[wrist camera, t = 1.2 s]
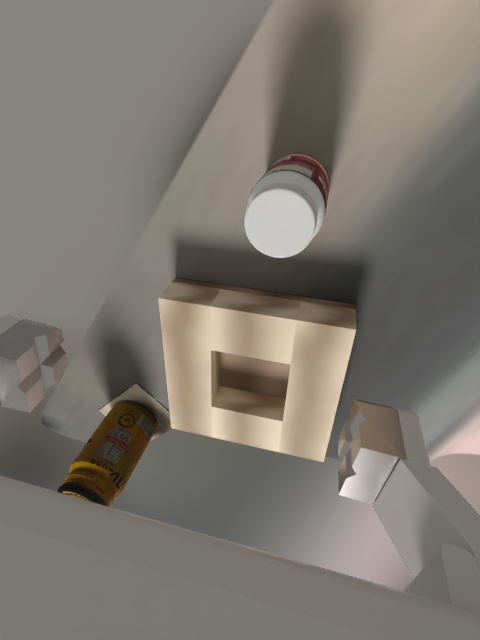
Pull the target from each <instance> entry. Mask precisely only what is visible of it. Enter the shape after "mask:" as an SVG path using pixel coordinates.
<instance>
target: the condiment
mask: <svg viewBox="0 0 480 640" xmlns="http://www.w3.org/2000/svg"><path fill="white" fill-rule="evenodd" d="M137 401H139V402H137ZM140 401H142V402H140ZM99 411H100V412H101V413H102V414H104V415H105V416H106V417H105V418H104V420H103V421H102V422H101V424H100V425H99V427H98V428H97V429H96V431H95V432H94V433H93V434H92V437H91V438H90V439H89V440H88V442H87V444H86V445H85V446H84V448H83V449H82V451H81V452H80V453H79V455H78V456H77V457H76V459H75V460H74V461H73V463H72V465H71V467H70V470H69V472H70V474H69V475H68V476H67V477H66V478H65V480H64V483H63V484H62V486H60V487H59V489H58V491H57V492H58V493H62V494H65V495H69V496H72V497H76V498H79V499H83V500H86V501H90V502H93V503H97V504H100V505H104V506H107V507H109V506H110V505H111V503H112V502H113V500H114V498H115V497H117V496H119V495H120V494H121V492H122V491H123V489H124V487H125V485H126V483H127V481H128V480H129V478H130V476H131V474H132V472H133V470H134V468H135V467H136V465H137V463H138V461H139V459H140V458H141V456H142V454H143V452H144V451H145V449H146V447H147V445H148V444H149V442H150V441H151V440H153V439H154V438H156V437H158V436H160V435H162V434H164V433H166V432H167V431H169V430H171V429H173V428H171V420H170V413H169V412H168V411H167V410H166V409H165V408H164V407H163V406H162V405H161V404H160V403H158V402H157V400H156V399H154V398H152V397H151V396H150V395H149V394H148V393H147V392H146V391H145V390H143V389H142V388H141V387H139V386H138V385H137V384H134V385H133V386H132V387H130V388H129V389H128V390H126V391H125V392H124V393H122V394H121V395H119V396H118V397H117V398H115V399H114V400H112V401H111V402H110V403H108V404H107V405H106V406H104V407H103V408H102V409H100V410H99Z"/></svg>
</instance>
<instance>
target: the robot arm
mask: <svg viewBox="0 0 480 640" xmlns="http://www.w3.org/2000/svg"><path fill="white" fill-rule="evenodd" d="M63 341H64V339H63V334H62V330H60V329H59V328H57V327H53V326H49V325H46V324H42V323H38V322H34V321H30V320H27V319H21V318H17V317H14V316H10V315H9V316H3V317H2V318H0V406H4V407H8V408H12V409H17V410H21V411H25V412H31V410H32V409H33V408H34V407H35V406H36V405H37V404H38V403H39V402H40V401H41V399H42V398H43V397H44V396H45V388H48V387H50V386H52V385H55V384H56V383H57V382H58V381H59V379H60V378H61V377H62V375H63V373H64V371H65V368H66V362H67V357H66V352H65V351H64V350H63V349H62V347H61V346H60V344H61V343H62V342H63ZM338 457H339V458H340V460H341V461H342V464H341V467H340V469H339V471H338V477H339V478H338V479H339V495H341V496H344V497H348V498H351V499H355V500H358V501H361V502H365V503H368V504H372V505H373V508H374V510H375V511H376V513H377V515H378V517H379V519H380V520H381V522H382V524H383V526H384V527H385V529H386V531H387V533H388V535H389V537H390V538H391V540H392V542H393V544H394V545H395V547H396V549H397V551H398V552H399V554H400V556H401V558H402V559H403V561H404V563H405V565H406V567H407V569H408V570H409V572H410V574H411V576H412V577H413V579H414V580H413V581H412V582H411V583H410V584H409V585H408V587H407V588H406V589H405V590H404V591H401V590H397V589H394V588H390V587H387V586H383V585H380V584H376V583H373V582H369V581H366V580H362V579H359V578H355V577H352V576H348V575H345V574H341V573H338V572H335V571H331V570H328V569H324V568H320V567H317V566H313V565H310V564H307V563H303V562H299V561H296V560H292V559H289V558H286V557H282V556H278V555H275V554H272V553H268V552H265V551H261V550H258V549H254V548H251V547H247V546H244V545H240V544H237V543H233V542H230V541H226V540H222V539H219V538H215V537H212V536H209V535H205V534H202V533H198V532H195V531H191V530H187V529H184V528H180V527H177V526H174V525H170V524H167V523H163V522H159V521H156V520H152V519H149V518H146V517H142V516H139V515H135V514H132V513H128V512H125V511H121V510H118V509H114V508H111V507H107V506H104V505H100V504H97V503H93V502H90V501H86V500H83V499H79V498H76V497H72V496H69V495H65V494H62V493H58V492H55V491H51V490H48V489H44V488H41V487H37V486H34V485H31V484H27V483H23V482H20V481H16V480H13V479H10V478H6V477H3V476H0V640H480V515H479V514H478V513H477V512H476V510H475V509H474V508H473V507H472V506H471V505H470V504H469V503H468V502H467V501H466V499H465V498H464V497H463V496H462V495H461V494H460V493H459V492H458V491H457V490H456V488H455V487H454V486H453V485H452V484H451V483H450V482H449V480H448V479H447V478H446V477H445V476H444V475H443V474H442V473H441V472H440V470H439V469H438V468H436V467H432V466H431V465H430V461H429V457H428V453H427V449H426V445H425V441H424V437H423V433H422V430H421V426H420V422H419V418H418V415H417V414H416V413H415V412H412V411H407V410H403V409H398V408H392V407H388V406H384V405H379V404H375V403H371V402H366V401H362V400H358V399H355V400H354V401H353V403H352V405H351V407H350V419H348V420H346V421H345V422H344V424H343V427H342V430H341V434H340V438H339V446H338Z"/></svg>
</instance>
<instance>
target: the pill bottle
mask: <svg viewBox="0 0 480 640" xmlns="http://www.w3.org/2000/svg"><path fill="white" fill-rule="evenodd" d="M328 193H329V181H328V176H327V173H326V171H325V170H324V168H323V167H322V165H321V164H320V163H319V162H318V161H316V160H315V159H313V158H311V157H309V156H307V155H303V154H291V155H288V156H285V157H283V158H281V159H279V160H278V161H276V162H275V163H274V164H273V165H272V166H271V167H270V168H269V170H268V171H267V172H266V173H265V174H264V175H263V176H262V178H261V179H260V180H259V181H258V182H257V183H256V184H255V186H254V187H253V188H252V190H251V192H250V195H249V198H248V203H247V210H246V213H245V219H244V224H245V230H246V234H247V236H248V238H249V240H250V242H251V243H252V245H253V246H254V247H255V248H256V249H257V250H259V251H260V252H262V253H264V254H266V255H268V256H271V257H276V258H285V257H290V256H293V255H296V254H298V253H299V252H301V251H302V250H303V249H304V248H306V247H307V245H308V244H309V243H310V241H311V239H312V238H313V237H314V236H315V235H316V234H317V233H318V231H319V229H320V228H321V226H322V223H323V220H324V217H325V211H326V206H327V200H328Z"/></svg>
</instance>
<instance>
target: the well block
mask: <svg viewBox="0 0 480 640" xmlns="http://www.w3.org/2000/svg"><path fill="white" fill-rule="evenodd" d="M158 299H159V309H160V319H161V329H162V339H163V349H164V359H165V370H166V380H167V390H168V400H169V410H170V420H171V428H174V429H178V430H182V431H187V432H191V433H196V434H200V435H205V436H209V437H214V438H218V439H223V440H227V441H232V442H236V443H240V444H245V445H249V446H255V447H258V448H263V449H267V450H272V451H276V452H281V453H285V454H290V455H294V456H298V457H303V458H307V459H312V460H316V461H321V462H324V458H325V454H326V450H327V446H328V442H329V438H330V434H331V430H332V426H333V422H334V418H335V414H336V410H337V406H338V402H339V398H340V393H341V389H342V385H343V381H344V377H345V373H346V369H347V365H348V361H349V357H350V353H351V349H352V345H353V341H354V337H355V333H356V304H349V303H342V302H336V301H329V300H322V299H315V298H309V297H302V296H295V295H288V294H282V293H275V292H268V291H262V290H255V289H248V288H241V287H235V286H228V285H221V284H214V283H208V282H201V281H194V280H188V279H181V278H175V279H174V280H173V281H172V283H171V284H170V285H169V286H168V287H167V289H166V290H165V291H164V292H163V293H162V294H161V296H160V297H159V298H158Z"/></svg>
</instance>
